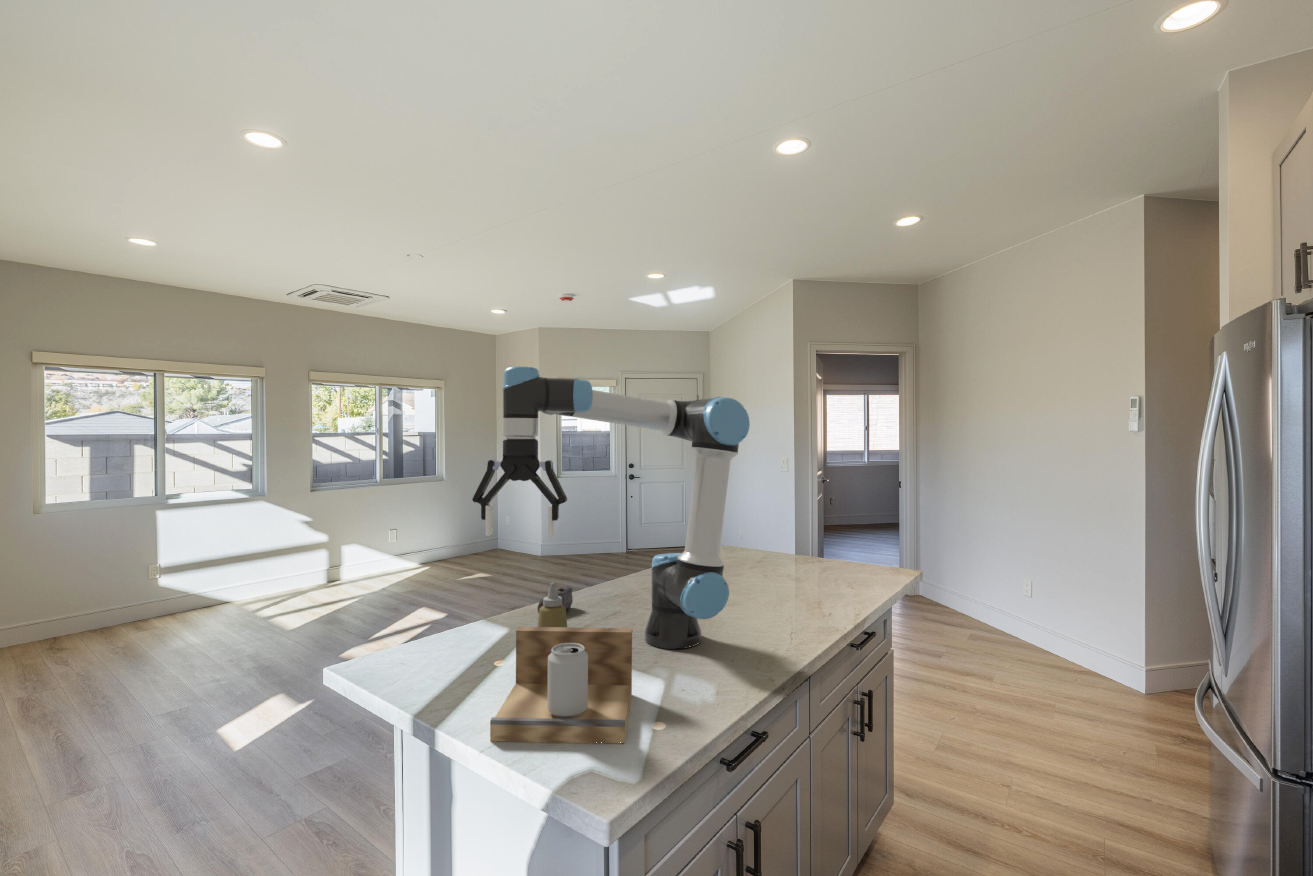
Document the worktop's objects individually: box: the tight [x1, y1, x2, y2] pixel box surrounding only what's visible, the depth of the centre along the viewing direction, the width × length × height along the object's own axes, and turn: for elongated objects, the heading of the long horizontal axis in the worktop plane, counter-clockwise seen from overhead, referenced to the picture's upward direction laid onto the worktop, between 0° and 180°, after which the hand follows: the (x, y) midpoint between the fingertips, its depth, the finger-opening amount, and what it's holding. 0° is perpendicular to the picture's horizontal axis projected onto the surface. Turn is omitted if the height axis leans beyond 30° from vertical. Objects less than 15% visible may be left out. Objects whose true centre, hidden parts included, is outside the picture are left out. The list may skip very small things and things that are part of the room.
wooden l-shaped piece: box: [489, 626, 633, 744], centre depth 115 cm, size 24×20×14 cm
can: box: [547, 643, 588, 719], centre depth 110 cm, size 8×8×12 cm
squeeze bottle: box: [537, 582, 568, 627], centre depth 146 cm, size 8×8×18 cm
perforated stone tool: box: [537, 585, 574, 614], centre depth 181 cm, size 15×5×7 cm, turn 147°
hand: (519, 535), depth 129 cm, fingers open, 13 cm apart
